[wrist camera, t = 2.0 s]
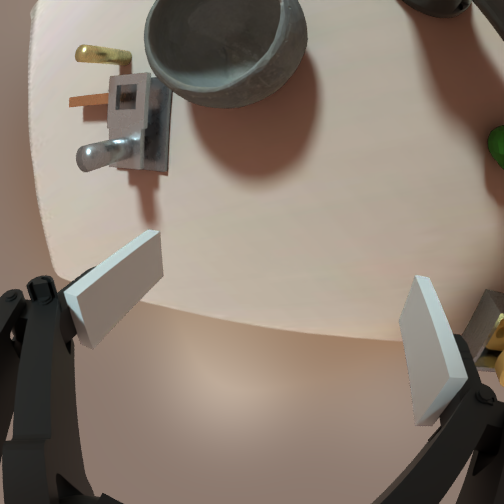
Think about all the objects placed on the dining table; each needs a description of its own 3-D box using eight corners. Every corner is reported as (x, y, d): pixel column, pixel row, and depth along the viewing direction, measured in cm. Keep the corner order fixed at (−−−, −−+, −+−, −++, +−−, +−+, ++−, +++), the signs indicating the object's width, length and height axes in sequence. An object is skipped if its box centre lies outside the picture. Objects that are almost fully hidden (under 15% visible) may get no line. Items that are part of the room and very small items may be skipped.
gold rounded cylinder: (120, 52, 44) (76, 46, 34) (132, 50, 44) (88, 43, 33) (118, 66, 45) (74, 63, 35) (130, 64, 45) (86, 60, 34)
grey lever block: (83, 83, 48) (27, 86, 35) (173, 74, 44) (118, 67, 31) (82, 162, 56) (29, 181, 43) (167, 170, 52) (115, 192, 39)
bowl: (169, 24, 40) (116, 4, 27) (283, -24, 33) (261, -69, 19) (207, 126, 47) (159, 133, 34) (331, 85, 40) (330, 70, 26)
